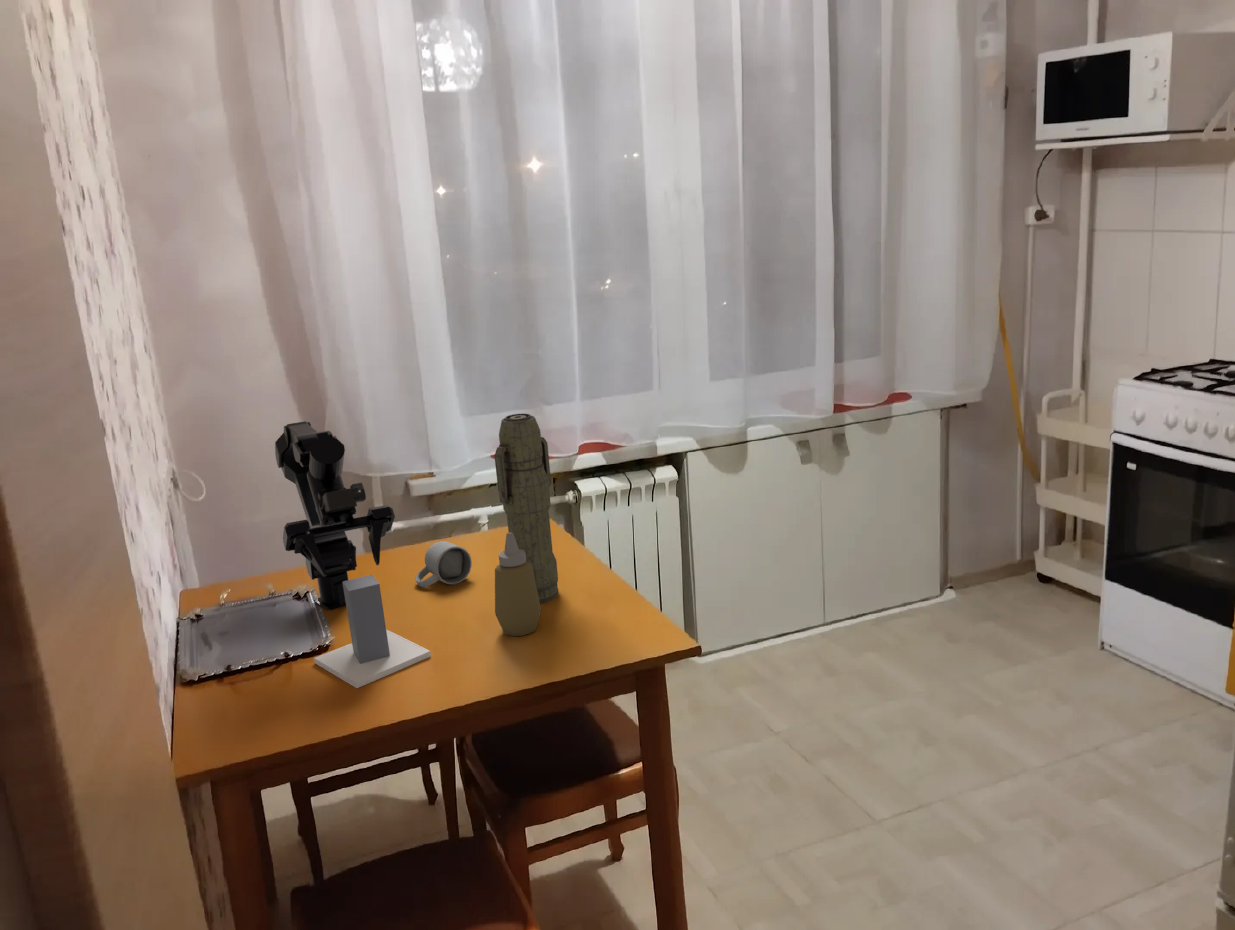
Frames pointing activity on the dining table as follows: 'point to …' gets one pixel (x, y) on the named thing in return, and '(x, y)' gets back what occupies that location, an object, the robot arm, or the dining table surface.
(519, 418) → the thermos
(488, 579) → the dining table surface
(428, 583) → the ceramic mug
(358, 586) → the tall block
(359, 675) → the white plate
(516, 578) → the squeeze bottle
